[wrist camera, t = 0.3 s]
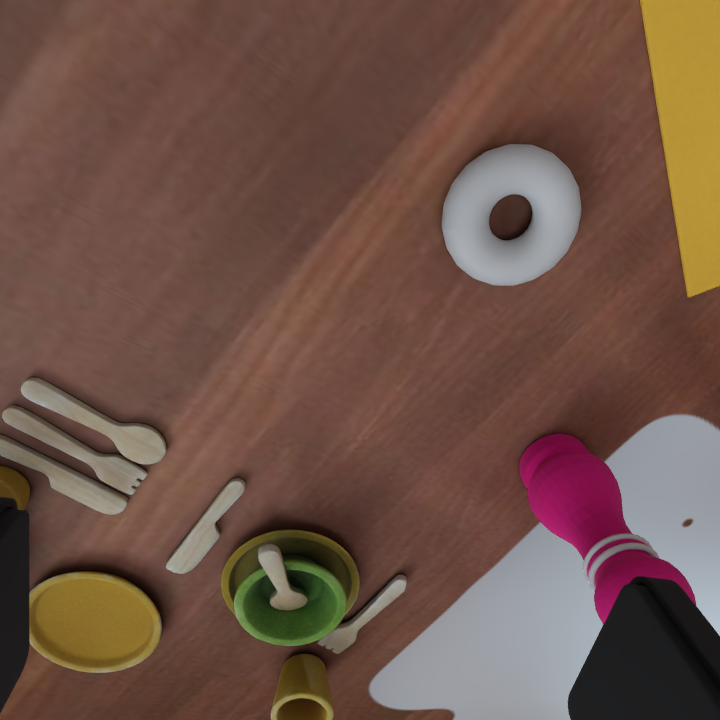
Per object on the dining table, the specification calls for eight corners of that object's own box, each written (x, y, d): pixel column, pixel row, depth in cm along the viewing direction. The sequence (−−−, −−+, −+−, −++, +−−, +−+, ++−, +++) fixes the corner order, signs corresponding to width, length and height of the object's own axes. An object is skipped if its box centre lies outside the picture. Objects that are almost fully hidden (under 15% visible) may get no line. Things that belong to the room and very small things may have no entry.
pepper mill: (605, 465, 52) (760, 659, 34) (539, 508, 54) (653, 715, 35) (566, 413, 50) (711, 591, 31) (497, 459, 51) (597, 655, 33)
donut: (585, 243, 44) (547, 116, 40) (605, 255, 41) (567, 117, 37) (464, 299, 45) (416, 180, 41) (476, 314, 42) (425, 187, 38)
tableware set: (424, 579, 56) (436, 633, 50) (265, 735, 64) (260, 797, 58) (20, 351, 44) (-25, 388, 38) (-115, 578, 52) (-169, 637, 46)
